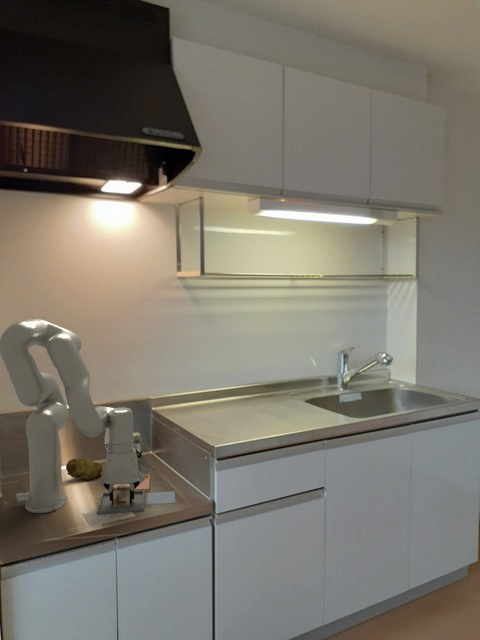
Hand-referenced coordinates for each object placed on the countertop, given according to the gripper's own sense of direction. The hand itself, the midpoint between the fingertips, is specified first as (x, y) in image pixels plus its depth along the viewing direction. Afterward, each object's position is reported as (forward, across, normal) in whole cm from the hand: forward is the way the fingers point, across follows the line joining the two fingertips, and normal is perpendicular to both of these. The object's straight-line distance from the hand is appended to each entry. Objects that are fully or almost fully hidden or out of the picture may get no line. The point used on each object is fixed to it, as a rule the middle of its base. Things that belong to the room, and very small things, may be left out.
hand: (122, 501), depth 161 cm
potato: (+1, -15, +24) cm, 29 cm away
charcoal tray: (+1, 0, 0) cm, 1 cm away
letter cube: (+1, 0, 0) cm, 1 cm away
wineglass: (+1, -4, +26) cm, 26 cm away
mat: (+1, +12, +2) cm, 13 cm away
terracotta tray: (+1, +2, +14) cm, 15 cm away
